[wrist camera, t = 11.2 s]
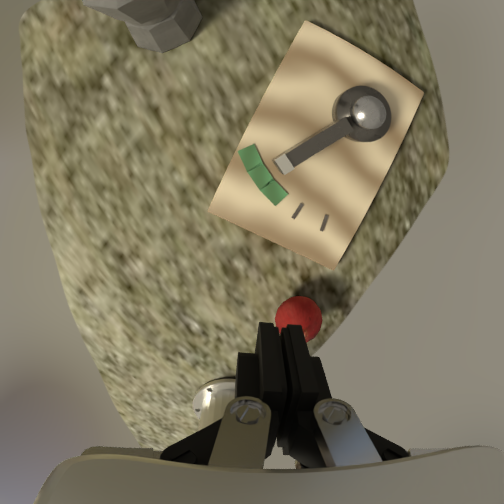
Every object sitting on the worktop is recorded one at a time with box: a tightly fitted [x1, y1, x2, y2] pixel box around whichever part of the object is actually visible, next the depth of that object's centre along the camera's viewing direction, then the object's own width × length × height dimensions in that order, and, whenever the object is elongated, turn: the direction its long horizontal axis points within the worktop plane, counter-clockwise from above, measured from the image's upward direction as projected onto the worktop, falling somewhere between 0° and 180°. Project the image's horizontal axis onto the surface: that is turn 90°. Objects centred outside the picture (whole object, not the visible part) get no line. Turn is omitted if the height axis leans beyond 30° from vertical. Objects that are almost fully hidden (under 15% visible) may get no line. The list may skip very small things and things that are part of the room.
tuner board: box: [207, 20, 424, 270], centre depth 34 cm, size 26×17×2 cm, turn 154°
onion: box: [275, 296, 322, 342], centre depth 38 cm, size 6×6×8 cm
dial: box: [272, 86, 391, 175], centre depth 31 cm, size 15×6×4 cm, turn 124°
